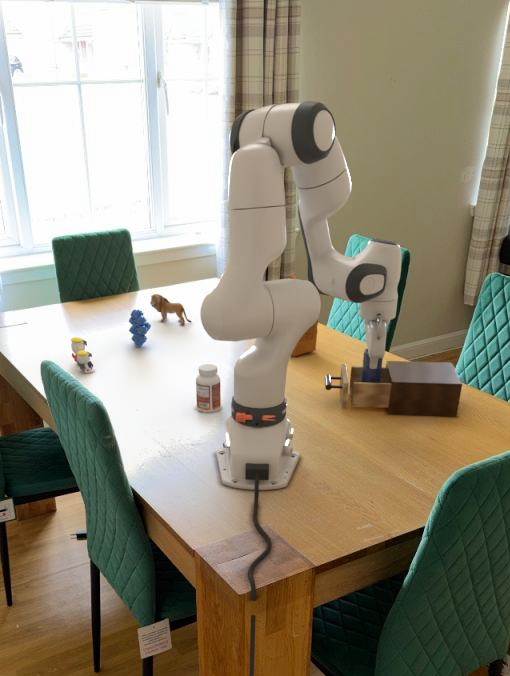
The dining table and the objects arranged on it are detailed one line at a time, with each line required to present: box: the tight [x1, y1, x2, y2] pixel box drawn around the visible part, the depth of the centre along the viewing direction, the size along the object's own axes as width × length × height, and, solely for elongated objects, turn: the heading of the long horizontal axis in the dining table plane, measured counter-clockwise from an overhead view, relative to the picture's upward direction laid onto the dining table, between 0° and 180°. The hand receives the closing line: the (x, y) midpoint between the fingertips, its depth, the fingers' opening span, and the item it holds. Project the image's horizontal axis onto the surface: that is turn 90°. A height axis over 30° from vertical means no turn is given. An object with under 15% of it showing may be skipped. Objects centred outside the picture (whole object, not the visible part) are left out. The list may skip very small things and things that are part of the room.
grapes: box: [128, 308, 152, 348], centre depth 230 cm, size 12×7×12 cm, turn 24°
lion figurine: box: [150, 293, 192, 326], centre depth 251 cm, size 15×5×9 cm, turn 70°
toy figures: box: [70, 336, 94, 374], centre depth 215 cm, size 12×4×8 cm, turn 23°
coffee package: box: [288, 273, 319, 357], centre depth 222 cm, size 10×12×22 cm
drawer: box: [324, 363, 391, 410], centre depth 191 cm, size 20×14×7 cm
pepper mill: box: [361, 348, 384, 383], centre depth 188 cm, size 5×5×12 cm
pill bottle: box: [195, 363, 222, 413], centre depth 189 cm, size 6×6×11 cm
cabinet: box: [385, 360, 463, 418], centre depth 190 cm, size 17×15×9 cm
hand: (372, 363), depth 187 cm, fingers closed on pepper mill, 5 cm apart
